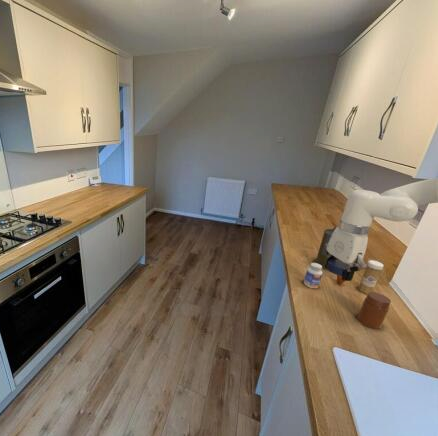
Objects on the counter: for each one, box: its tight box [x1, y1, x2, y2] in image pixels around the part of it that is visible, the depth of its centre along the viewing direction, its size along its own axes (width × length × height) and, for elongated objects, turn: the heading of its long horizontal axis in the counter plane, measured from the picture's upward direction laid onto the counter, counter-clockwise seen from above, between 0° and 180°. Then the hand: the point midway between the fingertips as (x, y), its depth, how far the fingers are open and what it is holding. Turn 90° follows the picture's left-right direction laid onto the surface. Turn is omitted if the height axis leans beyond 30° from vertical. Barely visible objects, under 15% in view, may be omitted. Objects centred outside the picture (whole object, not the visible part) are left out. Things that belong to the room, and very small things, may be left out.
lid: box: [326, 260, 353, 276], centre depth 83 cm, size 7×7×3 cm
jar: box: [357, 291, 392, 330], centre depth 81 cm, size 6×6×10 cm
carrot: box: [336, 260, 353, 285], centre depth 100 cm, size 5×5×15 cm
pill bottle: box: [303, 262, 323, 289], centre depth 100 cm, size 5×5×10 cm
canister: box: [314, 226, 339, 270], centre depth 114 cm, size 11×10×20 cm
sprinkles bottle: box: [357, 259, 384, 294], centre depth 96 cm, size 5×5×13 cm
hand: (337, 273), depth 84 cm, fingers closed on lid, 6 cm apart
